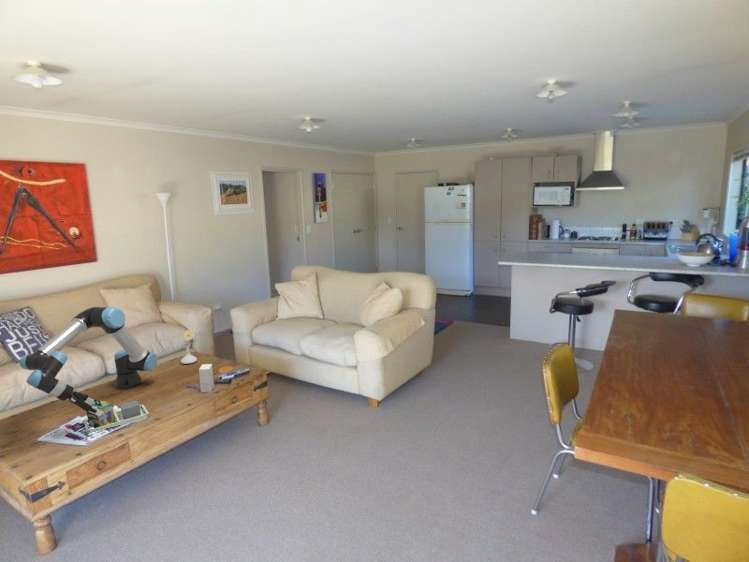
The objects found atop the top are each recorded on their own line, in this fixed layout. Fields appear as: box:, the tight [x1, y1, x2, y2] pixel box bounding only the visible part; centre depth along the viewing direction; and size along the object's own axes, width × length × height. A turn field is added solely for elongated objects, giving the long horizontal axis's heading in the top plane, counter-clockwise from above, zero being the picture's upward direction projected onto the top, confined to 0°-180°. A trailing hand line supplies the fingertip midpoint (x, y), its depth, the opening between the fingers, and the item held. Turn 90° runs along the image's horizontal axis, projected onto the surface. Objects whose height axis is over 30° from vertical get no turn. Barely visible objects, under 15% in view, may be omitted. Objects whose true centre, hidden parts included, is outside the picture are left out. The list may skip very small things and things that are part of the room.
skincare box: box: [198, 363, 215, 394], centre depth 285 cm, size 8×7×16 cm
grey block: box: [120, 400, 141, 420], centre depth 251 cm, size 8×8×7 cm
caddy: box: [83, 403, 150, 435], centre depth 248 cm, size 29×15×3 cm, turn 128°
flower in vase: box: [180, 329, 198, 365], centre depth 333 cm, size 13×11×25 cm
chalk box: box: [86, 398, 116, 428], centre depth 242 cm, size 9×9×15 cm
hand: (99, 409), depth 242 cm, fingers open, 13 cm apart
